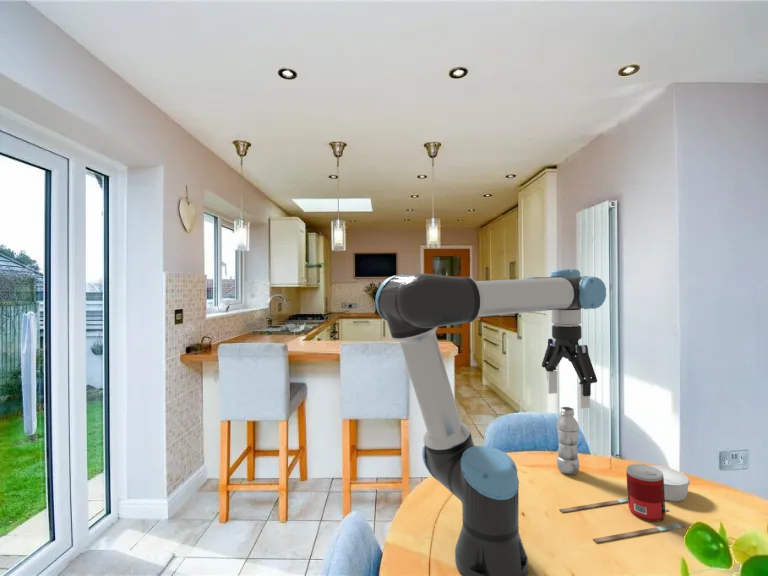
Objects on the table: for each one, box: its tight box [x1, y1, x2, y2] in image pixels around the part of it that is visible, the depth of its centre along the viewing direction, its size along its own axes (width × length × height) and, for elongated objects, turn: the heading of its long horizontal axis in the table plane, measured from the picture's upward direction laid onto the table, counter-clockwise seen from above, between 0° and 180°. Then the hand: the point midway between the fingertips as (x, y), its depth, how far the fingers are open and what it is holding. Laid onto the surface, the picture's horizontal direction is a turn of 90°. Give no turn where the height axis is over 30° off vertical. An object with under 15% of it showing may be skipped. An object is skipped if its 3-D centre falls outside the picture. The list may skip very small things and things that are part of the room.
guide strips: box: [559, 497, 687, 544], centre depth 101 cm, size 27×14×1 cm, turn 102°
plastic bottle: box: [556, 406, 580, 475], centre depth 124 cm, size 6×7×20 cm
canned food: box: [625, 463, 666, 522], centre depth 102 cm, size 8×8×11 cm
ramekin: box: [650, 465, 691, 502], centre depth 111 cm, size 11×11×5 cm
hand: (567, 400), depth 111 cm, fingers open, 13 cm apart
